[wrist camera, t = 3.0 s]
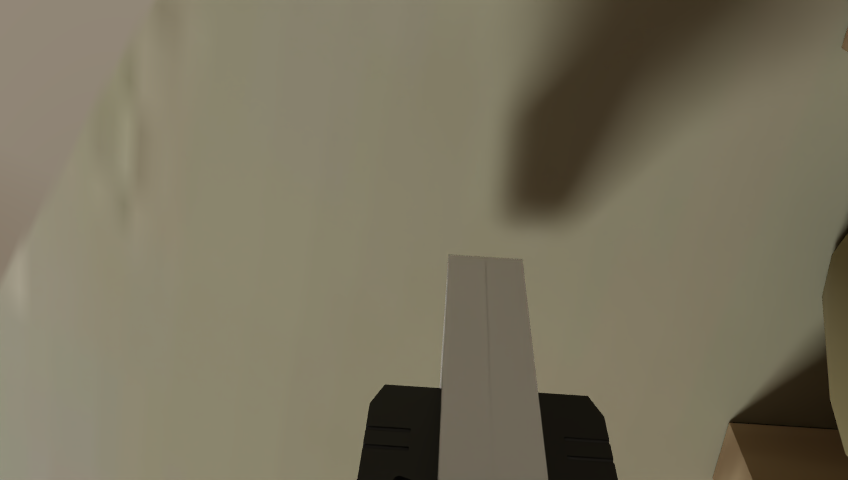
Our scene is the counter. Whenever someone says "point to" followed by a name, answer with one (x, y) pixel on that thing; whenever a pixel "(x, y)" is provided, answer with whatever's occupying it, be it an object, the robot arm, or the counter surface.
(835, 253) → the squeeze bottle
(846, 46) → the bar
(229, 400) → the counter surface
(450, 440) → the robot arm
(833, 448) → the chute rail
